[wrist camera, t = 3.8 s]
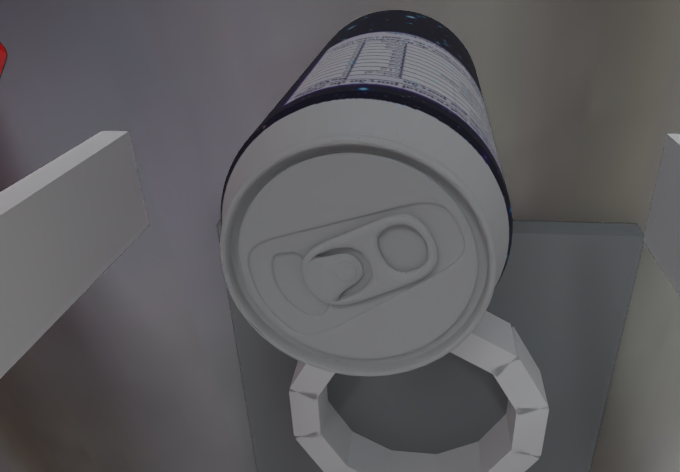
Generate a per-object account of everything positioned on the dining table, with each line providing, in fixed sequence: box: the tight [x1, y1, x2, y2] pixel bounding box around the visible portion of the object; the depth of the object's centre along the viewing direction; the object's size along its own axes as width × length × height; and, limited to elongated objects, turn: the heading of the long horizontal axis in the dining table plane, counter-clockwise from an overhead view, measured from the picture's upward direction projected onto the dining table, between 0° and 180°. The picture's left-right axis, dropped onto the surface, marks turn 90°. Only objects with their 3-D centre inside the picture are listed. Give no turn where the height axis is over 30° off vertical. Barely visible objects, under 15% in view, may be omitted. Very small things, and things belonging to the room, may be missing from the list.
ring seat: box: [217, 219, 644, 472], centre depth 25 cm, size 16×16×3 cm
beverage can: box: [220, 10, 513, 376], centre depth 15 cm, size 6×6×12 cm
